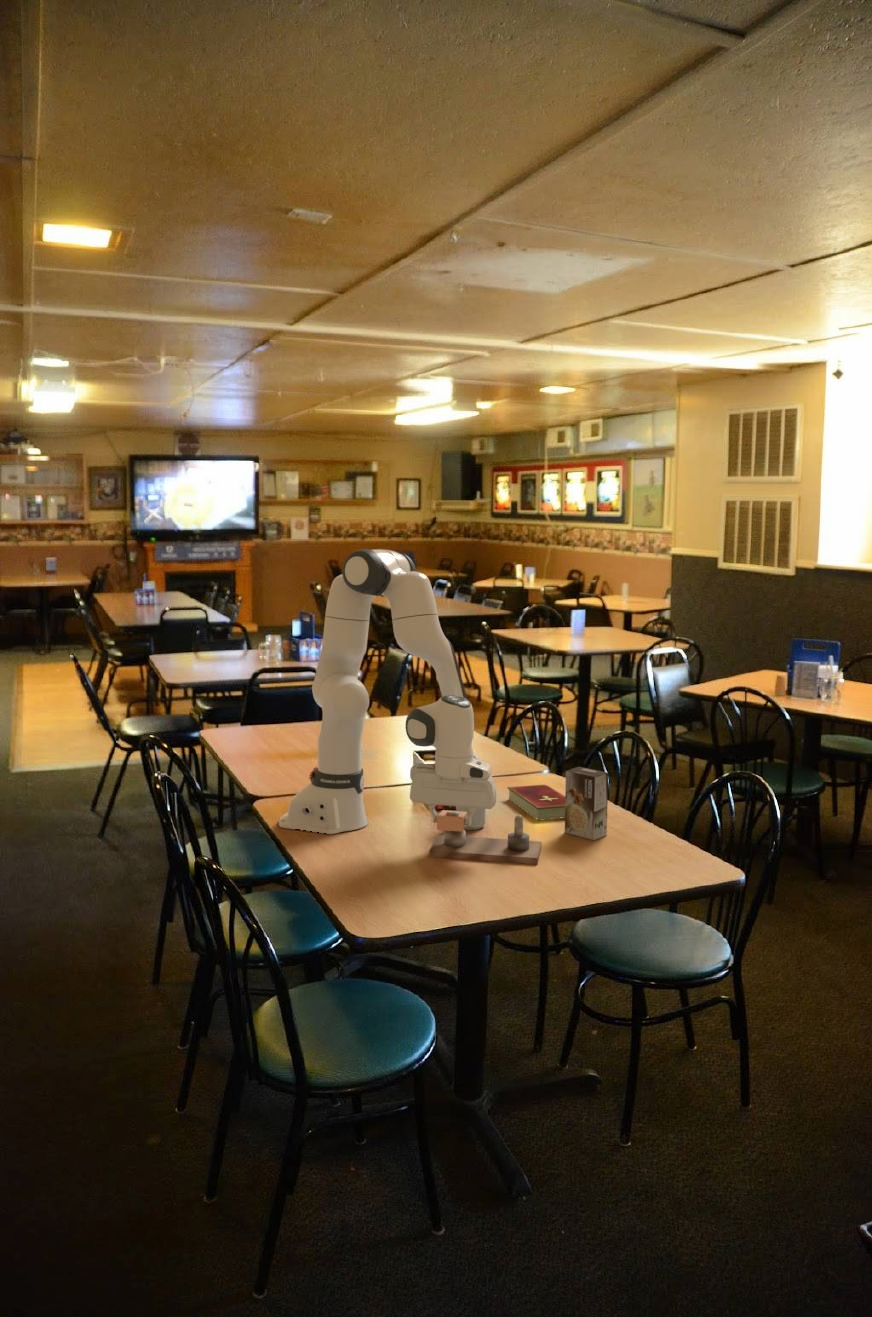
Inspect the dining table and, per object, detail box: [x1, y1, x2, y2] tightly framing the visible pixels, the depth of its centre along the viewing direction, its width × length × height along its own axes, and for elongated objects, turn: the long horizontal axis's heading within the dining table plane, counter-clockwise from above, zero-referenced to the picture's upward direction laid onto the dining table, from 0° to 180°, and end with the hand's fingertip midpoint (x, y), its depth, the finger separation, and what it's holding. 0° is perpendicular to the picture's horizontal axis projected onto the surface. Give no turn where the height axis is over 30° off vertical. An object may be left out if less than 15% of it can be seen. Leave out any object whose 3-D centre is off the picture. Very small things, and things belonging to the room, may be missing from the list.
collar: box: [436, 809, 467, 832], centre depth 236 cm, size 6×6×3 cm
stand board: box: [428, 812, 542, 865], centre depth 236 cm, size 25×12×10 cm, turn 80°
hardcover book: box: [506, 783, 565, 821], centre depth 273 cm, size 12×21×4 cm, turn 18°
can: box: [455, 806, 486, 831], centre depth 255 cm, size 8×8×12 cm
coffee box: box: [564, 766, 609, 841], centre depth 250 cm, size 9×6×16 cm
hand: (452, 823), depth 236 cm, fingers closed on collar, 6 cm apart
